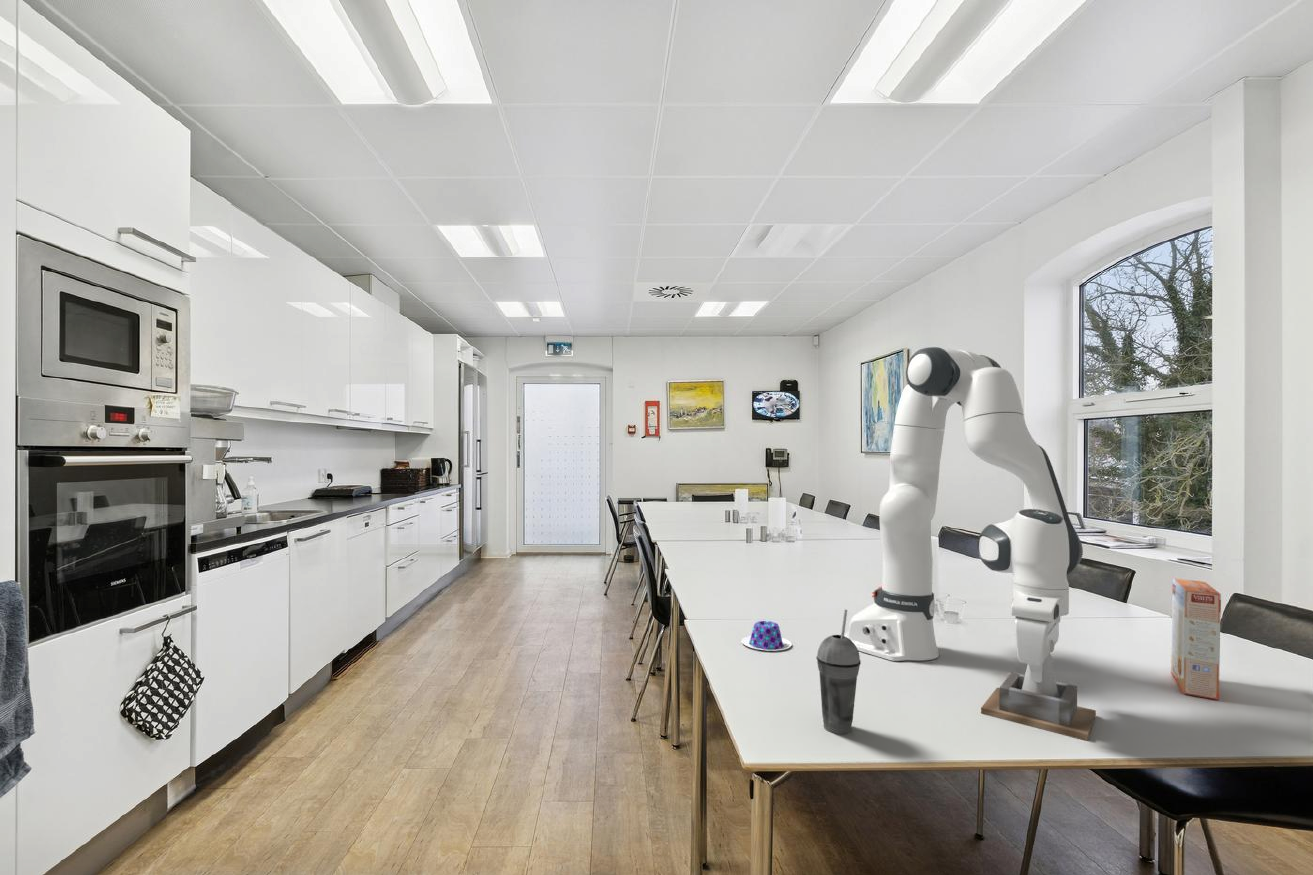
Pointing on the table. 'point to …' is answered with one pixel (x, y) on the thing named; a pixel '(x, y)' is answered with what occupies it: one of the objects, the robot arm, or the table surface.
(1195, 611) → the cracker box
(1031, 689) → the salt shaker
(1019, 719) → the socket block
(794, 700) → the table surface
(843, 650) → the beverage cup
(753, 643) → the pudding
